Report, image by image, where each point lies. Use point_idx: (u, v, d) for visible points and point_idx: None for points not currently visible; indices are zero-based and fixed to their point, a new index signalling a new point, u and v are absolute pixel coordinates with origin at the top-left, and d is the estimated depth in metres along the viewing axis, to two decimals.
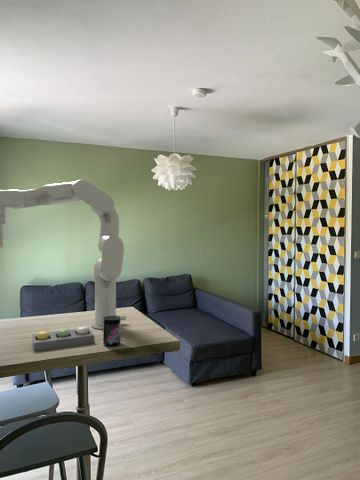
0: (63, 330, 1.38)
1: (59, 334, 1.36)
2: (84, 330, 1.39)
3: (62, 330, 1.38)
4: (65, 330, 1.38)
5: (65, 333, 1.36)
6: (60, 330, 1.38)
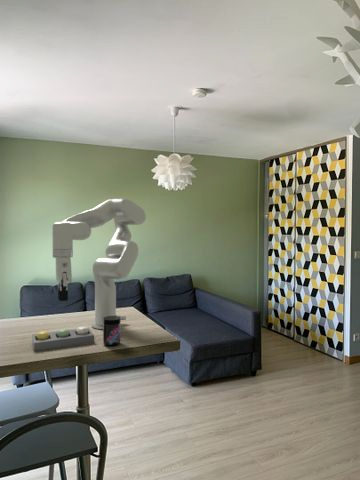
0: (63, 330, 1.38)
1: (59, 334, 1.36)
2: (84, 330, 1.39)
3: (62, 330, 1.38)
4: (65, 330, 1.38)
5: (65, 333, 1.36)
6: (60, 330, 1.38)
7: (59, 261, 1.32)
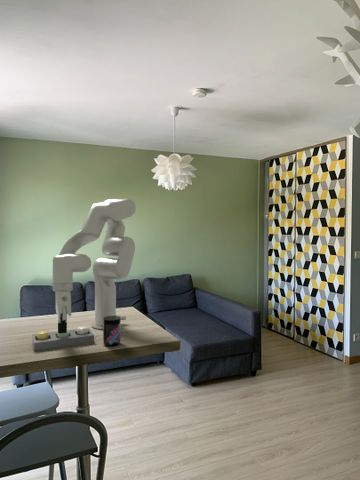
0: None
1: (59, 336, 1.36)
2: (84, 330, 1.39)
3: None
4: None
5: (65, 335, 1.36)
6: None
7: (59, 295, 1.33)
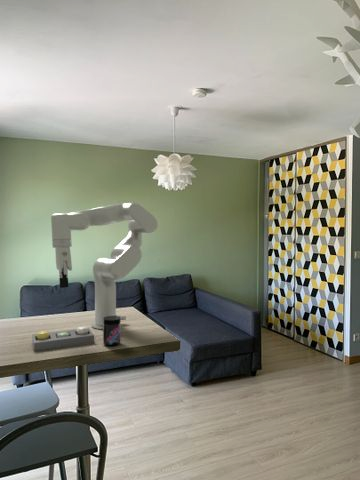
0: (63, 334, 1.38)
1: None
2: (84, 330, 1.39)
3: (62, 334, 1.38)
4: (65, 334, 1.38)
5: None
6: (60, 334, 1.38)
7: (59, 251, 1.40)
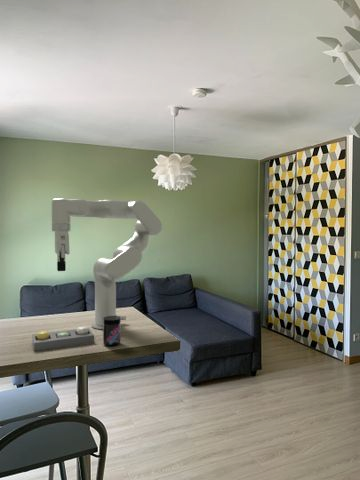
0: (63, 334, 1.38)
1: None
2: (84, 330, 1.39)
3: (62, 334, 1.38)
4: (65, 334, 1.38)
5: None
6: (60, 334, 1.38)
7: (58, 234, 1.43)
